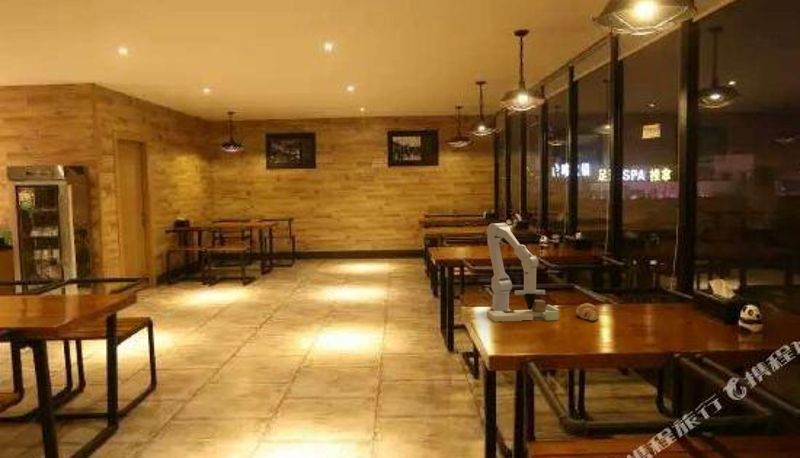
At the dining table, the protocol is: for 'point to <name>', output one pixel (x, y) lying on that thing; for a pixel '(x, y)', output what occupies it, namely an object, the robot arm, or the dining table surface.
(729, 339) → the dining table surface
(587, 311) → the croissant
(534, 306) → the walnut block
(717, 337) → the dining table surface
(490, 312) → the board
